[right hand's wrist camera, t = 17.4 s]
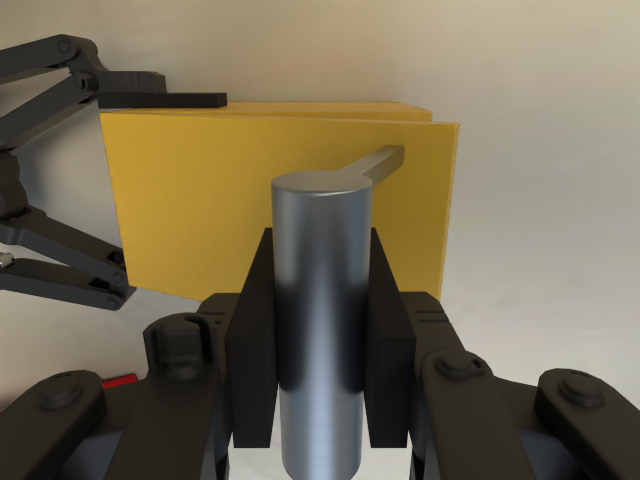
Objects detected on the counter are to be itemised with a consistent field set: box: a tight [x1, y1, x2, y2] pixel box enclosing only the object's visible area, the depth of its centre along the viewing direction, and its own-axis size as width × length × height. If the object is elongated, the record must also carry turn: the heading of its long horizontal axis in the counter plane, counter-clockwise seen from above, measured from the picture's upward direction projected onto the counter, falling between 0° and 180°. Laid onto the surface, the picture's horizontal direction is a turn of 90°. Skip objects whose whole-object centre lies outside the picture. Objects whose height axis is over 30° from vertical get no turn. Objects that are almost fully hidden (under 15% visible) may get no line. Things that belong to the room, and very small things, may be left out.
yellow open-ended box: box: [116, 102, 432, 122], centre depth 27 cm, size 16×9×10 cm, turn 90°
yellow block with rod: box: [99, 112, 460, 480], centre depth 16 cm, size 16×9×9 cm, turn 90°
